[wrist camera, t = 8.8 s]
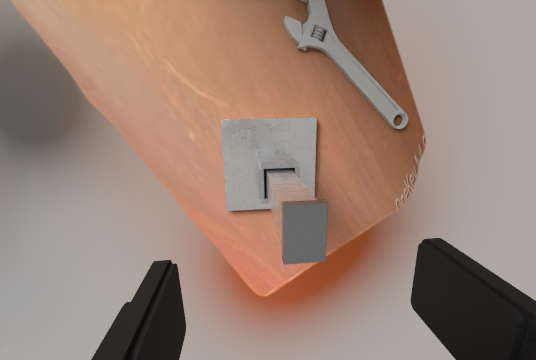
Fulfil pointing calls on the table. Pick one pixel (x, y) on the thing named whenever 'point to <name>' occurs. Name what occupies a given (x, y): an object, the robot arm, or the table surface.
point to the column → (296, 217)
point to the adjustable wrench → (341, 58)
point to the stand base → (265, 156)
